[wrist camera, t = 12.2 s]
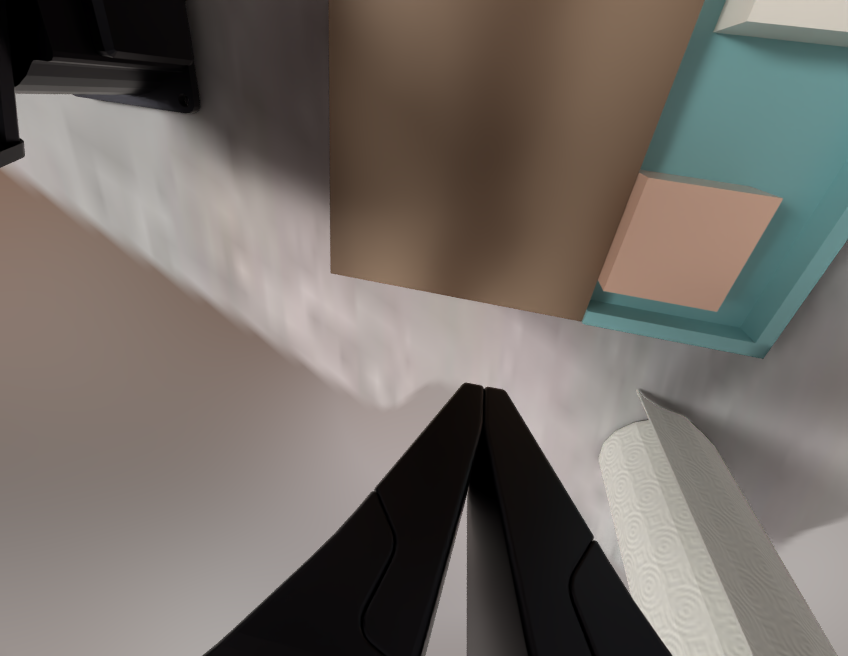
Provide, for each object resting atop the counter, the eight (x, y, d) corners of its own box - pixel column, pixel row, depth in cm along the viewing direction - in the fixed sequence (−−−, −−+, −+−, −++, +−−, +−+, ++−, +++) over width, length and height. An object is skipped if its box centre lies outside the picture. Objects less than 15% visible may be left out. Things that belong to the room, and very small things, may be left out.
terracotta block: (593, 270, 16) (603, 290, 14) (631, 168, 14) (648, 177, 12) (694, 288, 16) (717, 311, 14) (749, 186, 14) (783, 198, 12)
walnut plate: (353, 250, 20) (330, 273, 17) (366, -260, 12) (325, -361, 9) (572, 291, 19) (581, 321, 16) (759, -242, 11) (839, -351, 8)
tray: (572, 291, 19) (582, 324, 16) (759, -242, 11) (845, -360, 8) (725, 320, 18) (763, 358, 15) (1056, -228, 10) (1264, -353, 7)
